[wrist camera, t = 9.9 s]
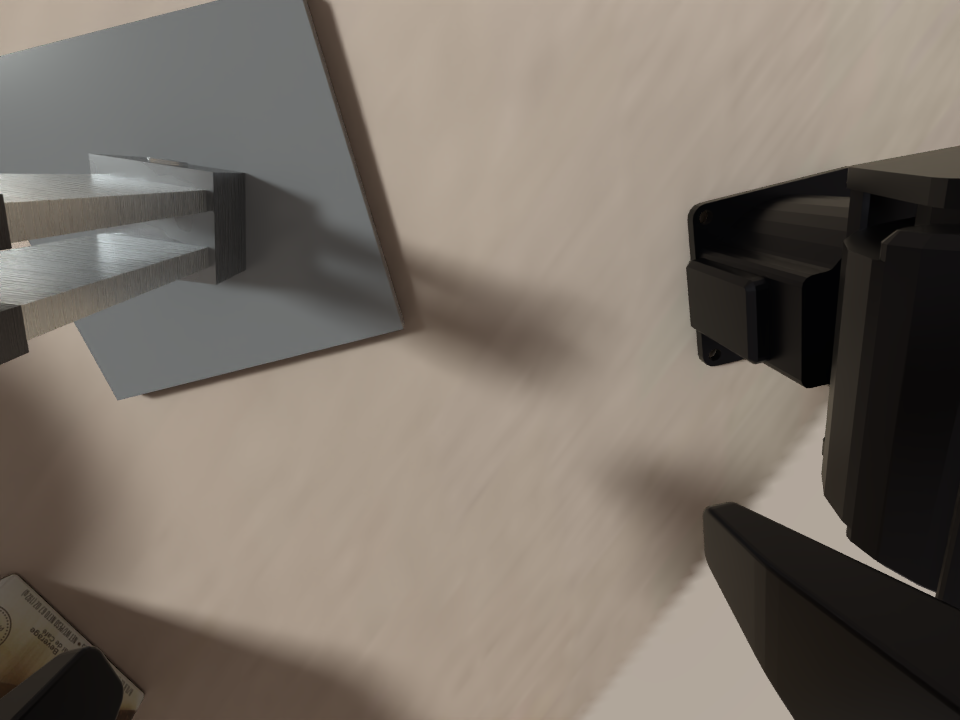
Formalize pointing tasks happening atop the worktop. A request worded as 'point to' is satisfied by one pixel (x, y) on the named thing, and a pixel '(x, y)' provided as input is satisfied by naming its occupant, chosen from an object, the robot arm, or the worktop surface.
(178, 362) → the plate
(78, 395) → the worktop surface
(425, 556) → the worktop surface
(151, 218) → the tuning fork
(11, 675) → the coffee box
